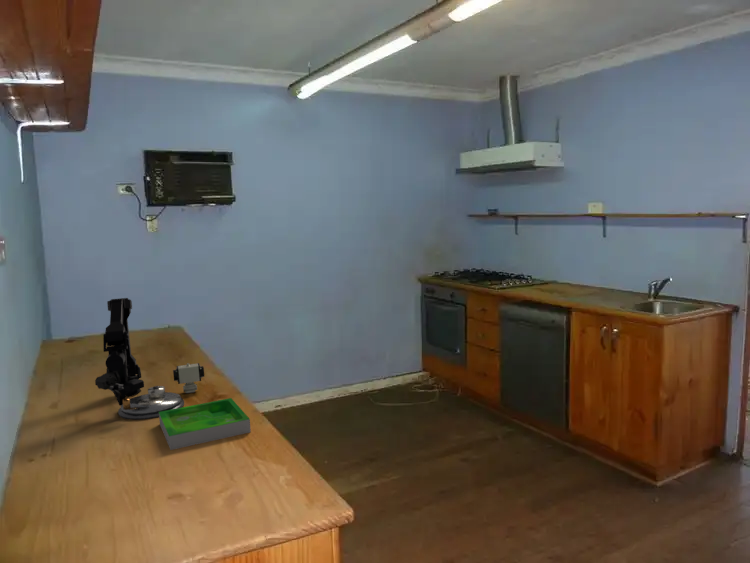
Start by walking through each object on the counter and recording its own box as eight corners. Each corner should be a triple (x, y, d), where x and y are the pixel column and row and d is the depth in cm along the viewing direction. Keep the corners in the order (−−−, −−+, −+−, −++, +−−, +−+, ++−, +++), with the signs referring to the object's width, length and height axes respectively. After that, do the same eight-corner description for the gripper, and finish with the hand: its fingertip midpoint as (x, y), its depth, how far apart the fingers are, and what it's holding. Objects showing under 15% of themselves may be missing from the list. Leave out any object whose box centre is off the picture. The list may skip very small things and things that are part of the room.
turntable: (111, 416, 202) (110, 403, 202) (133, 397, 223) (132, 385, 223) (171, 413, 203) (170, 399, 203) (187, 394, 224) (186, 382, 223)
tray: (170, 451, 174) (169, 436, 174) (160, 425, 196) (158, 412, 196) (250, 433, 186) (249, 418, 185) (232, 411, 208) (231, 397, 207)
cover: (146, 399, 215) (145, 389, 215) (151, 394, 221) (150, 384, 221) (162, 398, 216) (161, 388, 215) (167, 393, 222) (166, 384, 221)
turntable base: (106, 420, 202) (106, 417, 202) (135, 399, 225) (135, 396, 225) (170, 418, 202) (169, 415, 201) (192, 397, 224) (192, 394, 224)
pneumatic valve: (205, 391, 231) (203, 362, 229) (175, 395, 227) (172, 366, 225) (204, 387, 236) (202, 359, 234) (175, 392, 232) (172, 363, 230)
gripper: (80, 366, 202) (83, 408, 204) (118, 372, 194) (120, 416, 196) (107, 358, 212) (110, 399, 214) (143, 364, 204) (146, 406, 206)
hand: (121, 405), depth 207 cm, fingers closed
